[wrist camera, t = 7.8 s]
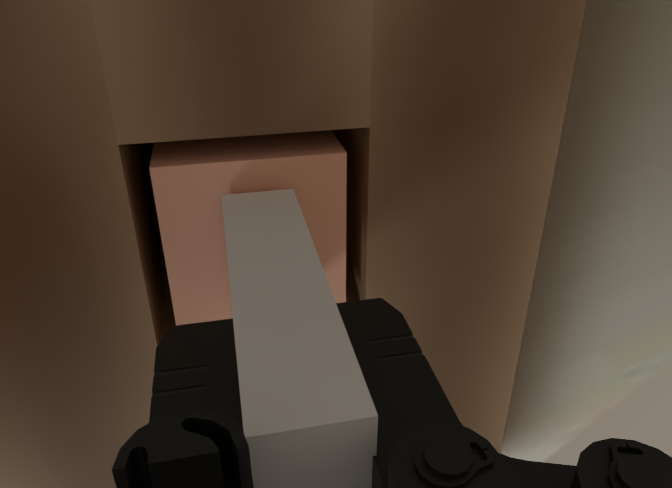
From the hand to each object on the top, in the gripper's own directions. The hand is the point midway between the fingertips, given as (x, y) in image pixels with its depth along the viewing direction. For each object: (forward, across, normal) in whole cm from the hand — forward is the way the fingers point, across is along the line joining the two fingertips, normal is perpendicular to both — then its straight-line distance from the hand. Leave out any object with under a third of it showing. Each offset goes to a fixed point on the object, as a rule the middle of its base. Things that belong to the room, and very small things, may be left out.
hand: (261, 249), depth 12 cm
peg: (+6, 0, 0) cm, 6 cm away
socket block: (+6, 0, -6) cm, 9 cm away
